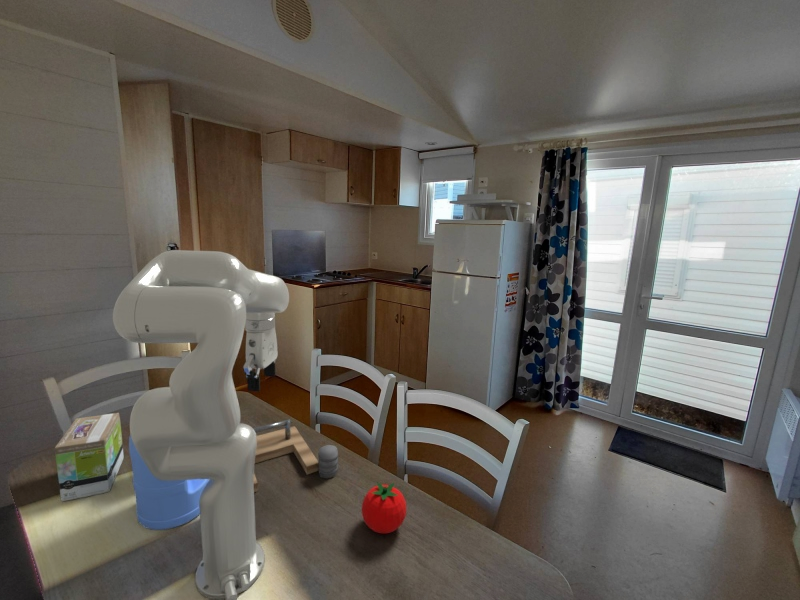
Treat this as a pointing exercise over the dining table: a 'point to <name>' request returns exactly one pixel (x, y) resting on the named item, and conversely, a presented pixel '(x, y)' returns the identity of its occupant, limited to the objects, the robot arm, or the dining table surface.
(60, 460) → the tea box
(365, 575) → the dining table surface
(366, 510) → the tomato
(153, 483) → the water jug
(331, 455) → the coil
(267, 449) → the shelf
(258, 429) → the metal bar handle
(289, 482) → the dining table surface
